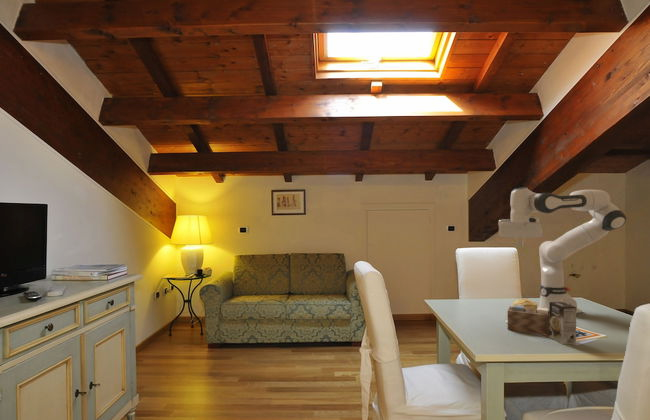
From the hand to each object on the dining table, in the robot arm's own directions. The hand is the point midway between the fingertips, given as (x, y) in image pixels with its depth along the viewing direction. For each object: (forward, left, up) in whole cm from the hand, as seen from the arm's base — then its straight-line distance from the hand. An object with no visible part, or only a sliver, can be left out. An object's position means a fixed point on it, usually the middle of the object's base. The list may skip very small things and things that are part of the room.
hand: (520, 245), depth 204 cm
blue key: (+10, +11, -31) cm, 35 cm away
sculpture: (-3, -1, -39) cm, 39 cm away
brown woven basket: (+7, +15, -39) cm, 42 cm away
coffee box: (+5, +31, -39) cm, 50 cm away
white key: (+3, +18, -31) cm, 36 cm away
